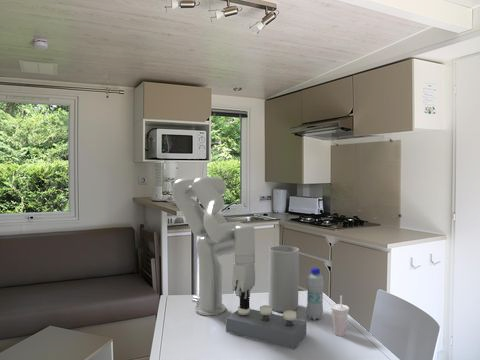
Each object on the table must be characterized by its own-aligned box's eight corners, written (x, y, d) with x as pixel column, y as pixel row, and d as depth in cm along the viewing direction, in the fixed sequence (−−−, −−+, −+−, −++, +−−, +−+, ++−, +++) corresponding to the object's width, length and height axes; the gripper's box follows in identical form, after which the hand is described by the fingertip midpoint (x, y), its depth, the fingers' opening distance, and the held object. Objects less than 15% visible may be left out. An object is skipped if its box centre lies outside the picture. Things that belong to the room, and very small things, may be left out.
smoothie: (338, 339, 128) (339, 299, 128) (326, 331, 134) (327, 293, 134) (352, 335, 131) (353, 296, 131) (340, 328, 137) (340, 291, 137)
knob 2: (281, 331, 127) (281, 313, 127) (286, 326, 131) (286, 309, 131) (293, 334, 125) (293, 316, 125) (297, 329, 129) (298, 311, 129)
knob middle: (257, 326, 132) (257, 308, 131) (263, 321, 135) (263, 304, 135) (268, 328, 129) (269, 311, 129) (274, 324, 133) (274, 306, 133)
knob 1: (235, 325, 136) (235, 308, 136) (241, 321, 140) (241, 304, 140) (246, 328, 134) (246, 311, 134) (251, 323, 138) (251, 307, 138)
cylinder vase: (264, 310, 154) (265, 250, 153) (273, 300, 165) (274, 244, 164) (293, 315, 149) (294, 253, 148) (301, 304, 161) (302, 247, 160)
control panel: (226, 331, 134) (226, 318, 133) (242, 319, 144) (242, 307, 144) (294, 349, 121) (294, 334, 121) (306, 335, 132) (306, 321, 131)
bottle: (323, 322, 143) (324, 270, 142) (305, 320, 144) (306, 269, 143) (323, 315, 149) (324, 266, 148) (306, 313, 150) (307, 265, 150)
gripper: (245, 253, 144) (245, 300, 145) (225, 261, 131) (225, 313, 132) (262, 255, 141) (262, 303, 141) (243, 264, 128) (243, 317, 128)
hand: (244, 308), depth 136 cm, fingers closed
